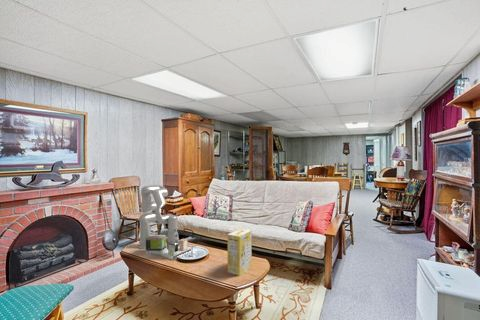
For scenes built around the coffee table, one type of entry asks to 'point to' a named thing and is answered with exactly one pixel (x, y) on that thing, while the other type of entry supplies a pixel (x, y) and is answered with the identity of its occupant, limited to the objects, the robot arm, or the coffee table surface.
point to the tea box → (155, 244)
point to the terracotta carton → (183, 244)
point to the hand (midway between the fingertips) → (172, 250)
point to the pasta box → (239, 251)
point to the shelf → (165, 254)
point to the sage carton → (171, 250)
